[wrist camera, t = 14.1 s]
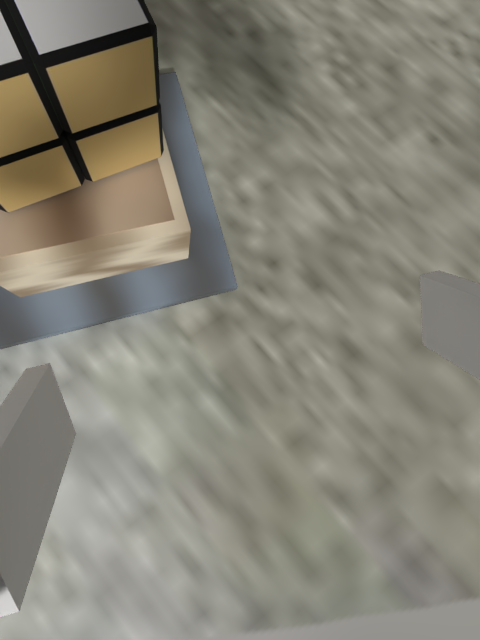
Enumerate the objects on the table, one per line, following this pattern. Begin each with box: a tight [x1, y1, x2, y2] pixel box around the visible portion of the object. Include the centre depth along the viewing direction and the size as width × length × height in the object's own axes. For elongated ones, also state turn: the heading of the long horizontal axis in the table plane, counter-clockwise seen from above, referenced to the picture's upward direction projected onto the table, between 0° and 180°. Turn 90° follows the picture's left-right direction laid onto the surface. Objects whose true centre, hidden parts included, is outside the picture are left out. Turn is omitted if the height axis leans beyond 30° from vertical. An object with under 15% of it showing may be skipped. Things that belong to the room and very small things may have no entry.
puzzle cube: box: [0, 0, 164, 213], centre depth 21 cm, size 10×10×10 cm
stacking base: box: [0, 72, 238, 349], centre depth 29 cm, size 18×18×7 cm
